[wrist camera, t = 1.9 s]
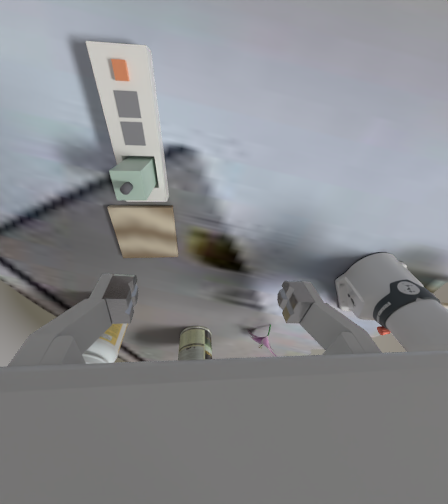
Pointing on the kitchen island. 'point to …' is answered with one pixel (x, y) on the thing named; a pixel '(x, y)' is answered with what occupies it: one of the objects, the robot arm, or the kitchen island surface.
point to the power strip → (130, 105)
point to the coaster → (145, 230)
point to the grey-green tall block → (134, 178)
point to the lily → (263, 341)
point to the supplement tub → (106, 345)
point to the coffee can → (195, 344)
